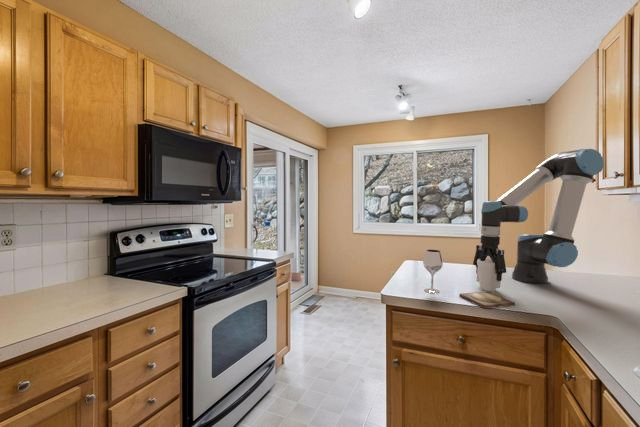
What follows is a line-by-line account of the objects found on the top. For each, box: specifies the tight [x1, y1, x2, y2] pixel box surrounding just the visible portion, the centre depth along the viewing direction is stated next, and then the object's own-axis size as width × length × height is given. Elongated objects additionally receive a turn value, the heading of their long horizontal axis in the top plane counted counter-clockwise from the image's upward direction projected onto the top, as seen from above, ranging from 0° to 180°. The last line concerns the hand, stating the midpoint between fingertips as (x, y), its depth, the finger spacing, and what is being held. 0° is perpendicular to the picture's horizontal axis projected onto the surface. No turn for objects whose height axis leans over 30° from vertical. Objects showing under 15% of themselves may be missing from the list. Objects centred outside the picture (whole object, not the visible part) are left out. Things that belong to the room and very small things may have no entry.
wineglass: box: [422, 249, 444, 294], centre depth 138 cm, size 8×8×18 cm
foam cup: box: [477, 258, 497, 292], centre depth 142 cm, size 10×9×13 cm
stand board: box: [459, 290, 516, 309], centre depth 127 cm, size 14×14×2 cm
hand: (487, 284), depth 143 cm, fingers closed on foam cup, 9 cm apart
